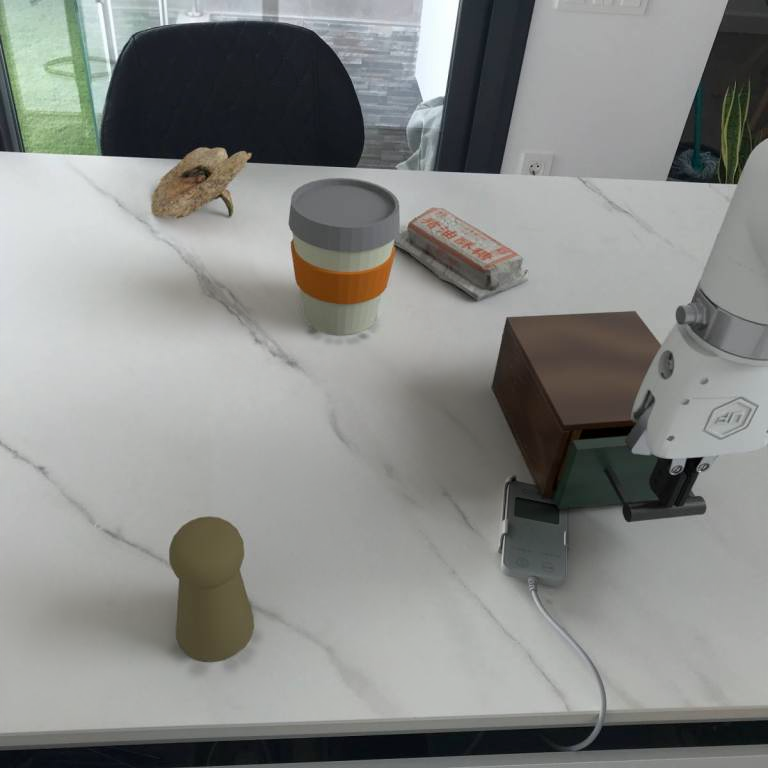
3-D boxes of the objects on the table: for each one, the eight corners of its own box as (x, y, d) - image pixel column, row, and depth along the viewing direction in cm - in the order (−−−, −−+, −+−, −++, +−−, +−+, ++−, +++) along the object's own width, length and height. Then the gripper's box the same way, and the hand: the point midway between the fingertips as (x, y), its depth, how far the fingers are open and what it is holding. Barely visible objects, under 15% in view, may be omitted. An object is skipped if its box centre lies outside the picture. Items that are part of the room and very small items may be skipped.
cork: (228, 581, 64) (221, 490, 57) (269, 633, 61) (266, 543, 54) (161, 619, 61) (144, 528, 54) (200, 676, 57) (187, 587, 50)
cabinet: (680, 485, 77) (713, 413, 71) (541, 499, 74) (564, 425, 68) (611, 379, 89) (635, 310, 83) (491, 387, 86) (506, 316, 80)
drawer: (719, 544, 70) (751, 485, 65) (581, 560, 67) (604, 499, 62) (621, 392, 86) (641, 335, 81) (506, 400, 83) (520, 342, 78)
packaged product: (537, 250, 101) (483, 272, 96) (529, 282, 104) (477, 304, 99) (445, 196, 112) (391, 212, 106) (440, 226, 115) (388, 244, 109)
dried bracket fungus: (147, 244, 117) (118, 199, 112) (211, 191, 124) (186, 147, 119) (221, 246, 105) (191, 197, 101) (286, 188, 112) (261, 140, 108)
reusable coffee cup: (371, 280, 102) (379, 173, 92) (405, 335, 93) (418, 222, 83) (277, 292, 98) (276, 181, 88) (304, 351, 89) (305, 234, 79)
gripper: (673, 356, 50) (601, 538, 62) (872, 344, 53) (767, 520, 65) (624, 292, 56) (567, 470, 67) (806, 284, 59) (721, 456, 70)
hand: (665, 494), depth 66 cm, fingers closed
